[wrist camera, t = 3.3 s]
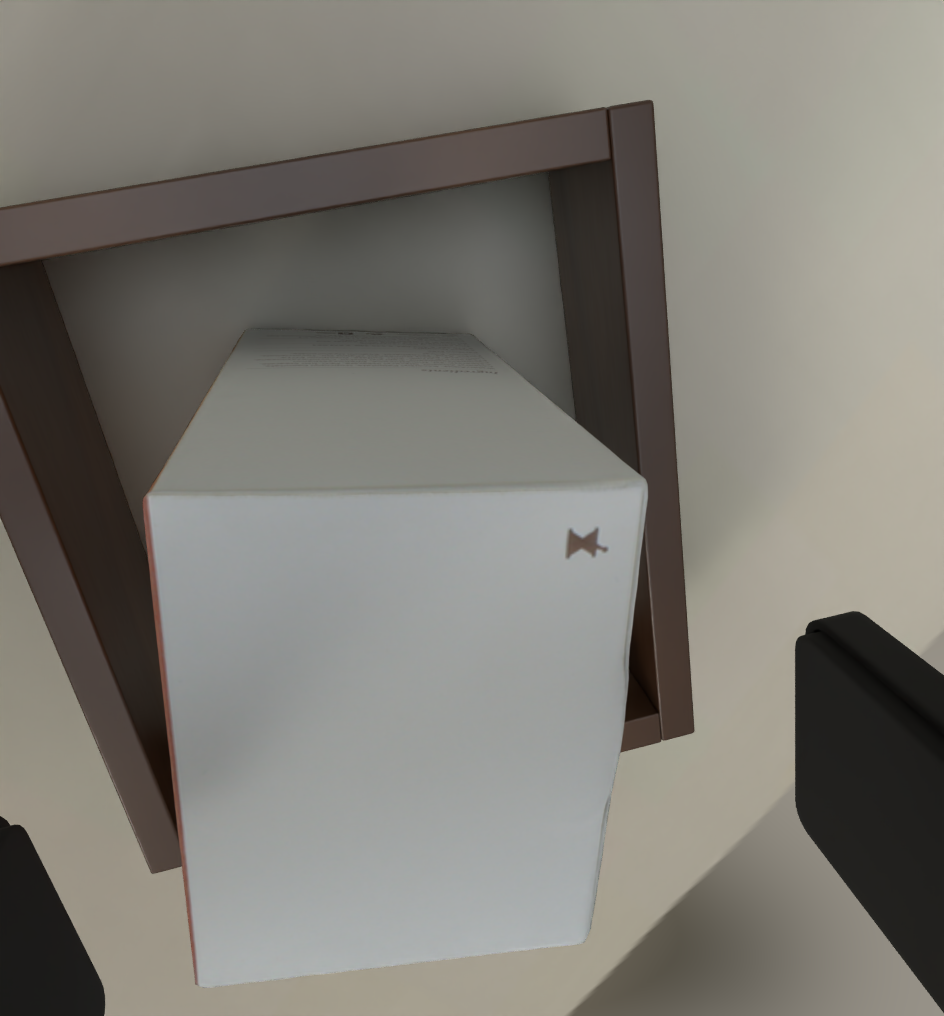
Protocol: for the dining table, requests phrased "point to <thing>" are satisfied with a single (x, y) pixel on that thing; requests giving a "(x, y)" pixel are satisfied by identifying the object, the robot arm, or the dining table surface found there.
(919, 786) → the robot arm
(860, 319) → the dining table surface
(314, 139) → the dining table surface
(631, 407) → the wooden frame
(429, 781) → the small box
